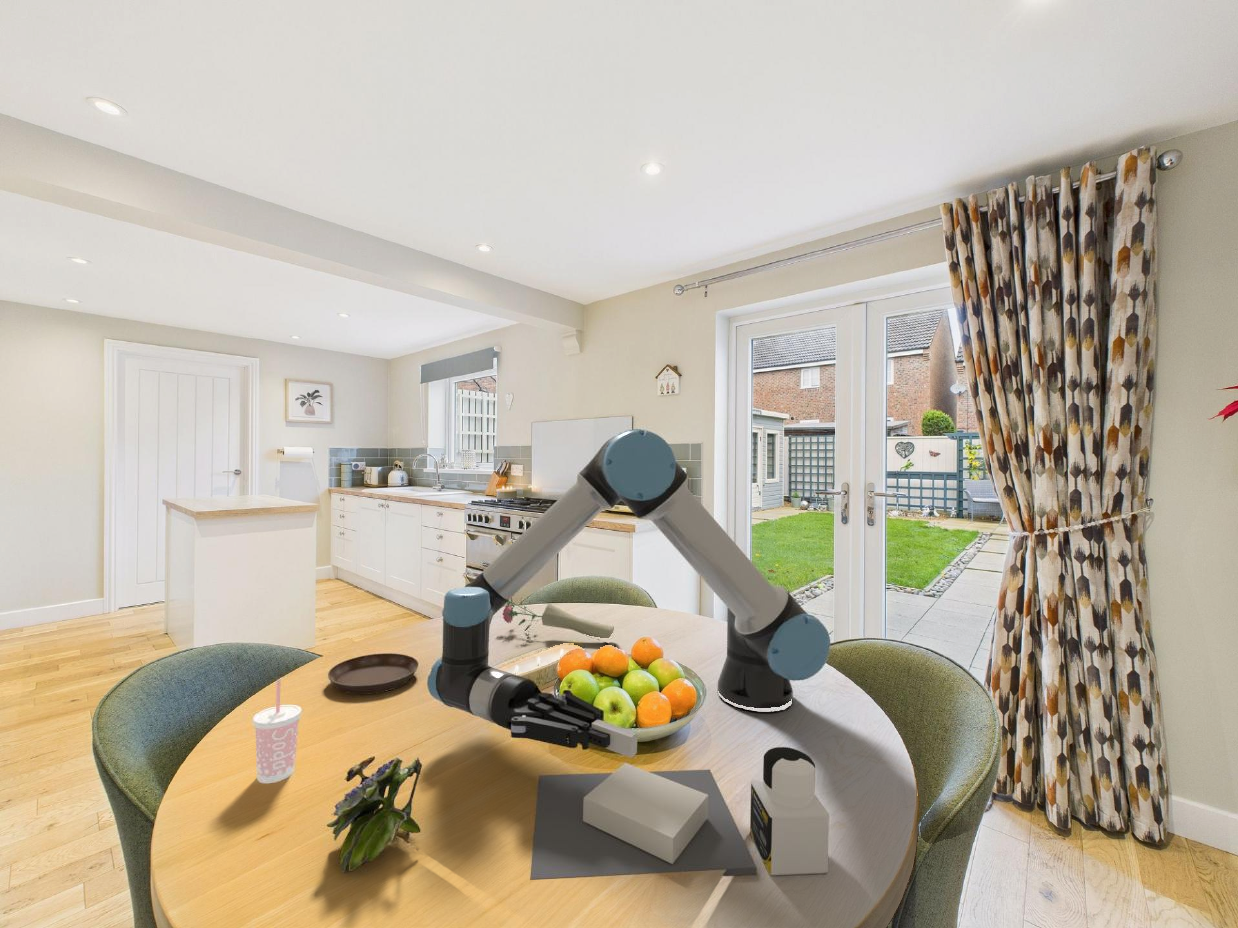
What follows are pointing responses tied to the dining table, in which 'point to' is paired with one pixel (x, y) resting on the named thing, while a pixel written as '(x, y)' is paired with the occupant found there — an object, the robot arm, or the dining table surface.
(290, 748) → the beverage cup
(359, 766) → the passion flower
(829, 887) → the dining table surface
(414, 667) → the plant saucer
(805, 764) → the medicine bottle
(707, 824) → the mat
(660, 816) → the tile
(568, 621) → the flower vase
